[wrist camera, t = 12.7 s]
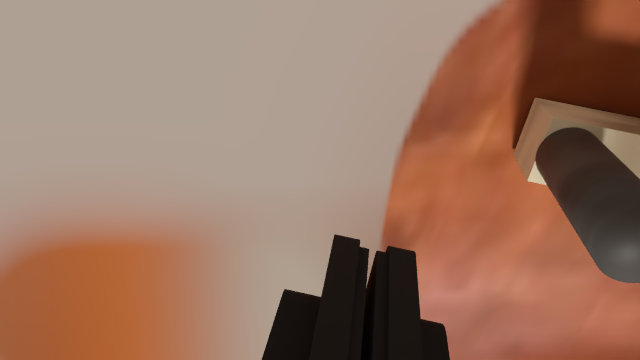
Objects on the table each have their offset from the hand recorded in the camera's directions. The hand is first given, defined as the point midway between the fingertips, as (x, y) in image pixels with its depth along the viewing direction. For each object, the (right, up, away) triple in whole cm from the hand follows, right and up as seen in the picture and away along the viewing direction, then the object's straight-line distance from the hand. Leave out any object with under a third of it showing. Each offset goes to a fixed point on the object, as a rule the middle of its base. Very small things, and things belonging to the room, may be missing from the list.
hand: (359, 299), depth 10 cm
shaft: (+13, +4, +13) cm, 19 cm away
